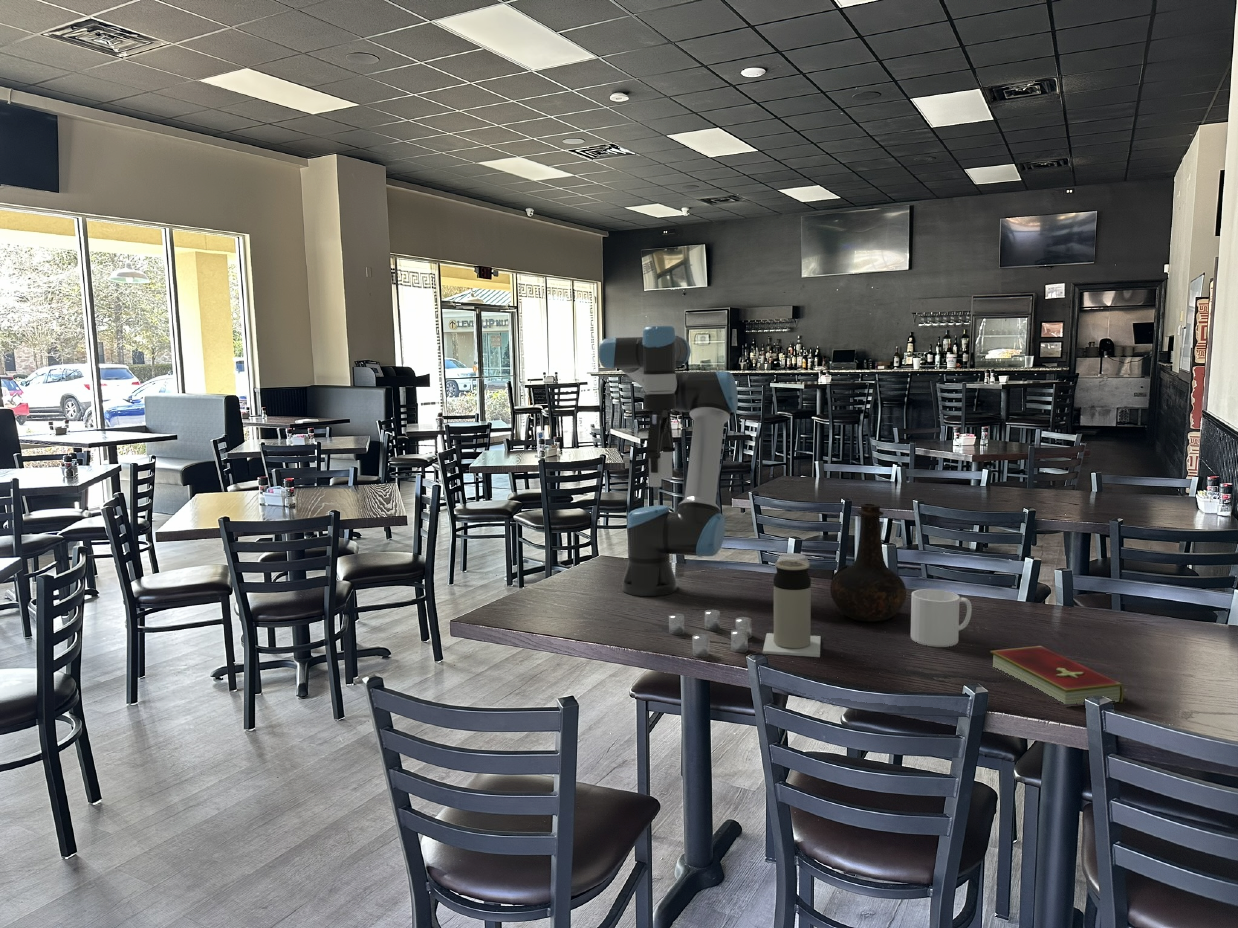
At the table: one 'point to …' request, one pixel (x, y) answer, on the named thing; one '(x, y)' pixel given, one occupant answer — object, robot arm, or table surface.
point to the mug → (937, 617)
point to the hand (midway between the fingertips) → (661, 482)
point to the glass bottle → (868, 576)
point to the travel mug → (792, 604)
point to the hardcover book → (1056, 674)
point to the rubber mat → (773, 648)
